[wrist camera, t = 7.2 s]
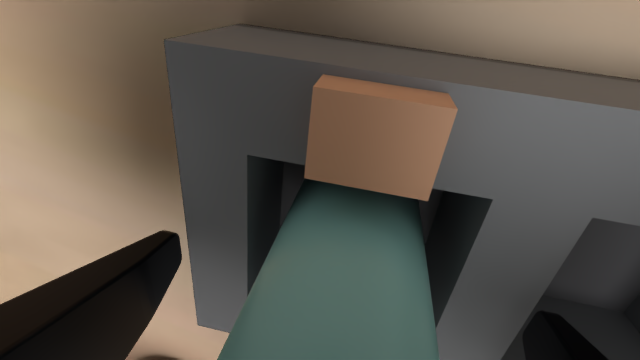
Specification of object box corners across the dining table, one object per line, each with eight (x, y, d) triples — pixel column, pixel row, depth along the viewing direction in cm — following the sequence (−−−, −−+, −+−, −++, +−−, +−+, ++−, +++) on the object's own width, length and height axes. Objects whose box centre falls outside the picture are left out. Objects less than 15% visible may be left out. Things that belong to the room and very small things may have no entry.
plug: (402, 251, 13) (415, 562, 6) (299, 230, 13) (194, 493, 6) (431, 155, 11) (506, 454, 4) (309, 134, 11) (169, 365, 4)
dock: (660, 335, 13) (794, 504, 9) (242, 247, 15) (181, 352, 10) (879, 114, 8) (1384, 238, 4) (239, 23, 10) (130, 46, 6)
